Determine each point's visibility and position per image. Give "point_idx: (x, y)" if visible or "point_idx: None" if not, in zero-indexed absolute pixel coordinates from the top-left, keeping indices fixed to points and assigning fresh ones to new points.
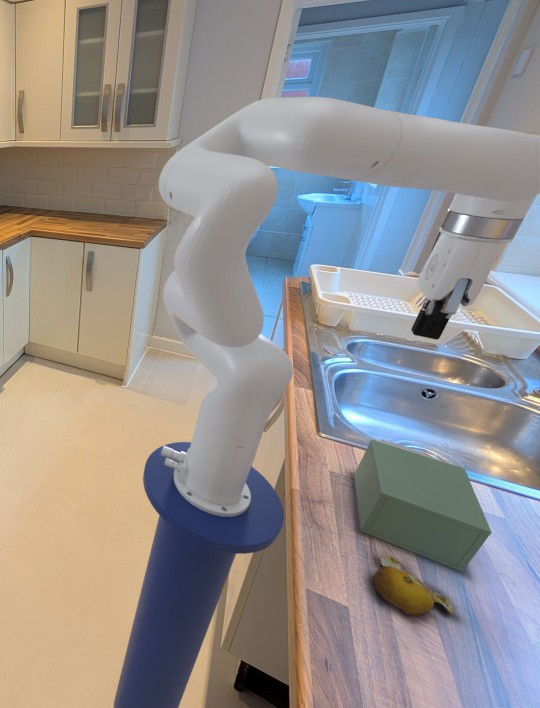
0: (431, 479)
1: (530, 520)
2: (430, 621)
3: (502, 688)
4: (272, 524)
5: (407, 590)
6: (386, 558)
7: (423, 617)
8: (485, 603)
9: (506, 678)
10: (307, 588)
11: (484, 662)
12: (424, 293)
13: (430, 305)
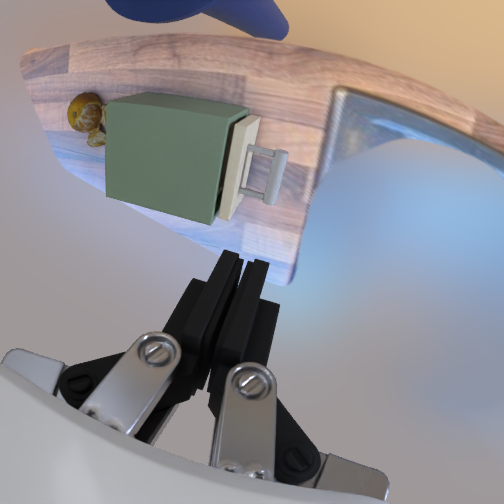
0: (163, 171)
1: None
2: None
3: (63, 157)
4: (136, 13)
5: (68, 112)
6: None
7: None
8: None
9: (69, 162)
10: (70, 45)
11: (72, 153)
12: (25, 406)
13: (117, 379)
